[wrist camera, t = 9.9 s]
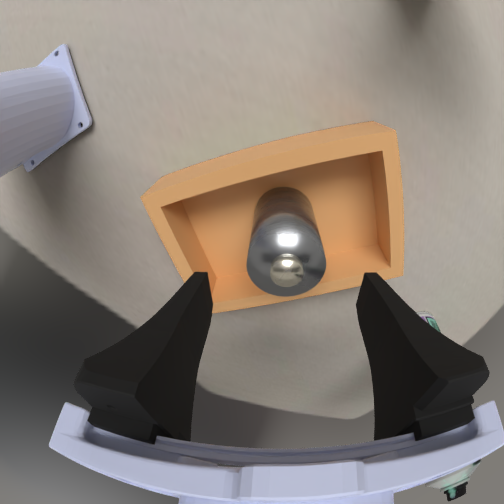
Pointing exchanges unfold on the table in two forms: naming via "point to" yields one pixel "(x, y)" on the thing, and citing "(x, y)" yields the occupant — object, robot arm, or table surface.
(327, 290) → the trough
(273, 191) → the cell
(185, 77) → the table surface
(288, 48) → the table surface
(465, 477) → the spray can
